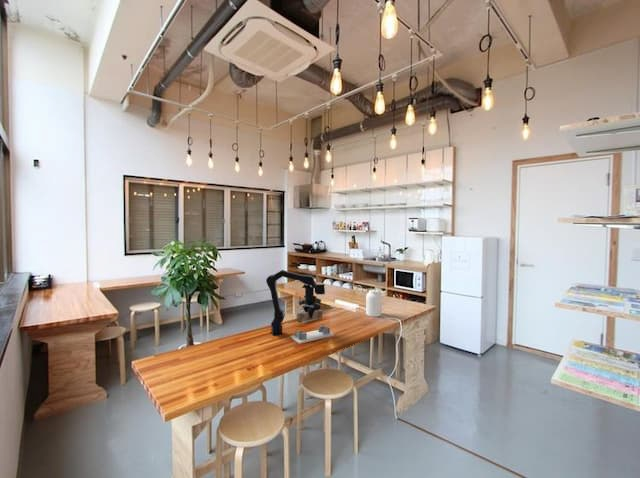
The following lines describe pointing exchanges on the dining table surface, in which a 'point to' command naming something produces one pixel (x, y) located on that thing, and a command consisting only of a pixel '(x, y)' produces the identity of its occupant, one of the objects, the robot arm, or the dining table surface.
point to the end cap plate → (312, 334)
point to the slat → (306, 317)
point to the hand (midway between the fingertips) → (309, 317)
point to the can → (374, 303)
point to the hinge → (302, 312)
